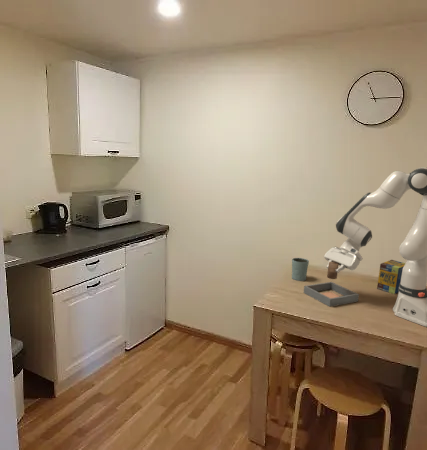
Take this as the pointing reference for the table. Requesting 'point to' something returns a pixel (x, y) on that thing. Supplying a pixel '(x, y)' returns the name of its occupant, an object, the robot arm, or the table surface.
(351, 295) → the shallow gray dish
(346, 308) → the table surface
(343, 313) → the table surface
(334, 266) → the walnut post
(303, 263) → the teal cup
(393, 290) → the protein box
